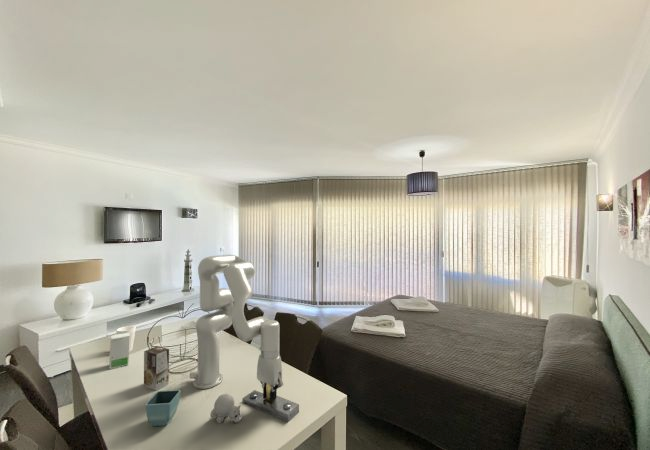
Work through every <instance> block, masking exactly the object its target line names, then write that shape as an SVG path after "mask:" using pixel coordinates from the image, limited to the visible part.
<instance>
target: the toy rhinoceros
mask: <svg viewBox="0 0 650 450" xmlns="http://www.w3.org/2000/svg"><path fill="white" fill-rule="evenodd" d="M240 409H241V405H238V406H237V405H235V399H234V397H233V396H232V395H231V394H229V393H224V394H223V393H222V394H221V395H219V396H218V397H217V399H216V400H215V401H214V405H213V409H212V410H211V412H210V414H209V415H210V417H211V418H213V419H214V418H216V422H217V423H222V422H224V420H225V418H227V417H228V418H229V419H230V420H232V421H233V422H234V423H236V424H237V423H240V421H241V420H242V418H243V415H241V410H240Z"/></svg>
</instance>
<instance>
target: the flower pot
mask: <svg viewBox="0 0 650 450" xmlns="http://www.w3.org/2000/svg"><path fill="white" fill-rule="evenodd" d="M180 396H181V389H174V390H173V389H172V390H171V389H170V390H157V391H156V392H155V393H154V395H153V396H151V397H150V398H149V400H148V401H147V402H146V403H145V404H144V405H145V406H144V407H145V414H146V419H147V421H148V423H149V424H150V425H151V426H152V427H158V426H167V425H168V424H169V423H170V422H171V420H172V419H173V417H174V416H175V414H176V412H177V410H178V406H179V404H180Z"/></svg>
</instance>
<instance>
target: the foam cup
mask: <svg viewBox="0 0 650 450" xmlns="http://www.w3.org/2000/svg"><path fill="white" fill-rule="evenodd" d="M136 331H137V326H136V325H126V326H122V327H119V328H117V329H116V333H115V335H118V334H124V333H129V334H130V343H129V352H131V351H132V350H133V349H134V342H135V336H136Z"/></svg>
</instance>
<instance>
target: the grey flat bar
mask: <svg viewBox="0 0 650 450" xmlns="http://www.w3.org/2000/svg"><path fill="white" fill-rule="evenodd" d="M241 401H242V403H244V404H247V405H249V406H250V407H253V408H255V409H257V410H259V411H262V412H264V413H267V414H268V415H271V416H272V417H275V418H278V419H279V420H282V421H283V422H286V423H289V422H290V421H291V420H292V419H293V418H294V417H295V416H296V415H297V414H298V413H299V412H300V404H299V403H297V402H295V401H291V400H289V399H286V398H285V397H284V398H283V396H279V395H277V396H276V399H275V400H274V401H273V402H272V403H268V402H266V398H265V399H263V392H261V391H257V390H255V389H254V390H253V391H251V392H250V393H248V394H247V395H245V396H244V397H242V400H241Z"/></svg>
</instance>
